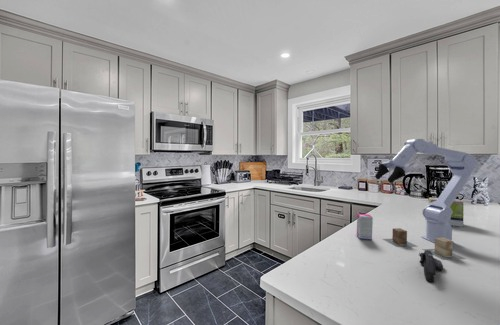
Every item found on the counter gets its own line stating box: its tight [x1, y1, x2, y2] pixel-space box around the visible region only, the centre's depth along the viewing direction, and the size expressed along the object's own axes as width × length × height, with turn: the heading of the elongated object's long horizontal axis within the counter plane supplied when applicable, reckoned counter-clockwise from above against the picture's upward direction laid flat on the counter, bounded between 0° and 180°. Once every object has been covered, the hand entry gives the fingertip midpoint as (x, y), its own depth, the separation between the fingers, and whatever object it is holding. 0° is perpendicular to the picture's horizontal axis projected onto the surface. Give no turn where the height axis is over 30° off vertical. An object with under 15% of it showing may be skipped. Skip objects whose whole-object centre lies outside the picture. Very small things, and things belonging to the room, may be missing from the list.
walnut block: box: [391, 227, 408, 244], centre depth 105 cm, size 4×4×6 cm
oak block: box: [434, 238, 454, 256], centre depth 93 cm, size 4×4×6 cm
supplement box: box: [356, 213, 374, 241], centre depth 111 cm, size 6×6×12 cm
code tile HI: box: [422, 248, 466, 261], centre depth 93 cm, size 10×10×1 cm
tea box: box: [428, 197, 464, 228], centre depth 137 cm, size 15×10×15 cm, turn 58°
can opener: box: [418, 250, 444, 284], centre depth 79 cm, size 18×7×6 cm, turn 141°
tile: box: [382, 238, 418, 248], centre depth 105 cm, size 10×10×1 cm
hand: (382, 179), depth 106 cm, fingers open, 7 cm apart
